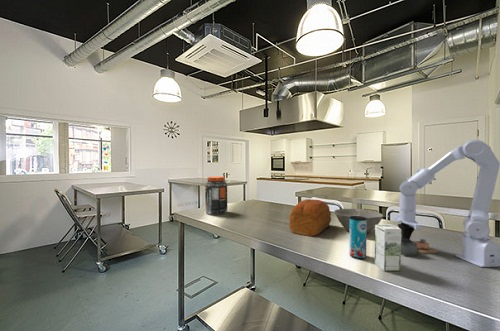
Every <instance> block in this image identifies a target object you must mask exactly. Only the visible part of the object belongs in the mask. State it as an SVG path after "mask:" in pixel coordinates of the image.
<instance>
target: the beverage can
mask: <svg viewBox="0 0 500 331" xmlns="http://www.w3.org/2000/svg"><path fill="white" fill-rule="evenodd" d="M367 235H368V232H367V222H366V218H365V217H361V216H350V231H349V256H350V257H351V258H353V259H356V258H358V260H363V259H366V258H367Z"/></svg>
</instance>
